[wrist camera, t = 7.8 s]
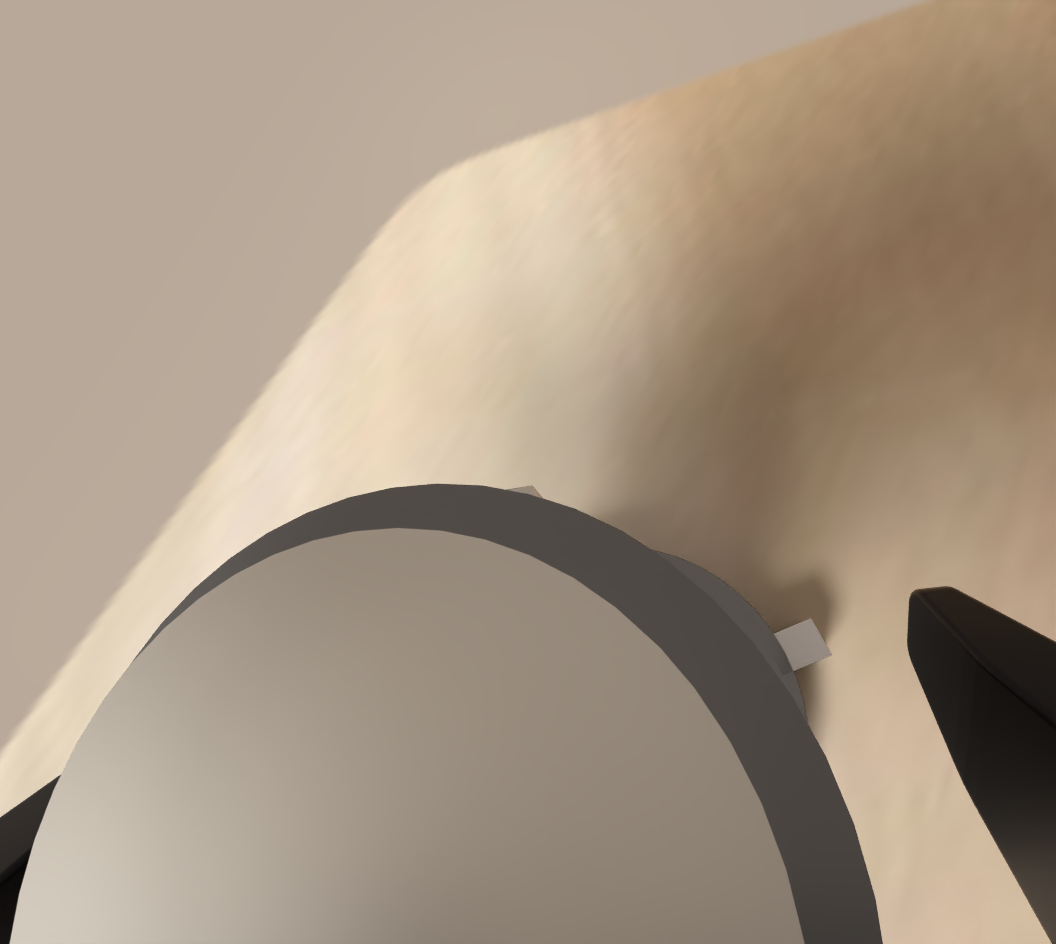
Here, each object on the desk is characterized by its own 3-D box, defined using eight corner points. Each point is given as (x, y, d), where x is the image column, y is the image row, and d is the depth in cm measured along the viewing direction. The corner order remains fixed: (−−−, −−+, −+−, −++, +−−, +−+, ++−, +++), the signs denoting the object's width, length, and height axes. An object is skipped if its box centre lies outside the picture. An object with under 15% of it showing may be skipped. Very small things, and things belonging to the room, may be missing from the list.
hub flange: (536, 962, 15) (524, 985, 14) (427, 628, 18) (410, 625, 17) (910, 817, 14) (929, 829, 13) (730, 491, 17) (733, 479, 16)
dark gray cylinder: (743, 833, 14) (1156, 1972, 2) (530, 843, 15) (-166, 1626, 3) (701, 590, 16) (760, 309, 3) (512, 612, 16) (34, 451, 4)
